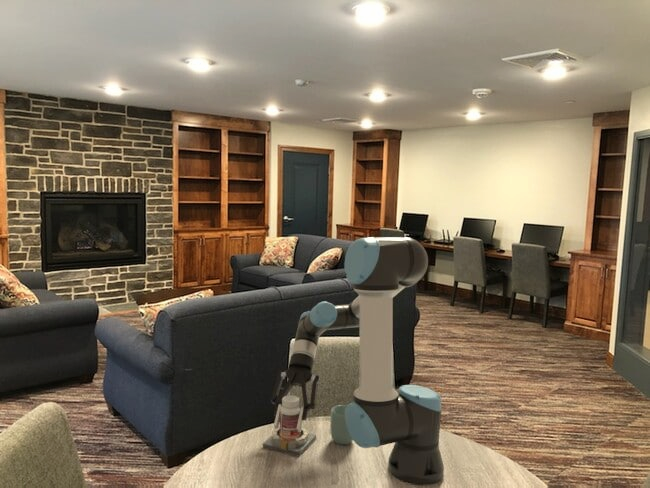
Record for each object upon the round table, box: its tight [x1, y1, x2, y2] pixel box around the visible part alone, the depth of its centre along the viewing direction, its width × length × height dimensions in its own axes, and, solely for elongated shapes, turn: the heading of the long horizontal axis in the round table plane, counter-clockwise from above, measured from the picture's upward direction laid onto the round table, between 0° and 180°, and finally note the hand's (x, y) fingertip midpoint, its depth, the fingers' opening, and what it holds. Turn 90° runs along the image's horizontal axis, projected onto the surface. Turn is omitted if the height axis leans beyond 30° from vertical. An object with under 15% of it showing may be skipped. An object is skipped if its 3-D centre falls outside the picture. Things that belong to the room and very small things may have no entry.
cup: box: [330, 404, 354, 446], centre depth 164 cm, size 8×8×10 cm
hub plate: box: [262, 426, 317, 457], centre depth 162 cm, size 12×12×3 cm
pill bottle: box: [279, 394, 301, 439], centre depth 161 cm, size 6×6×11 cm
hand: (287, 428), depth 159 cm, fingers closed on pill bottle, 6 cm apart
